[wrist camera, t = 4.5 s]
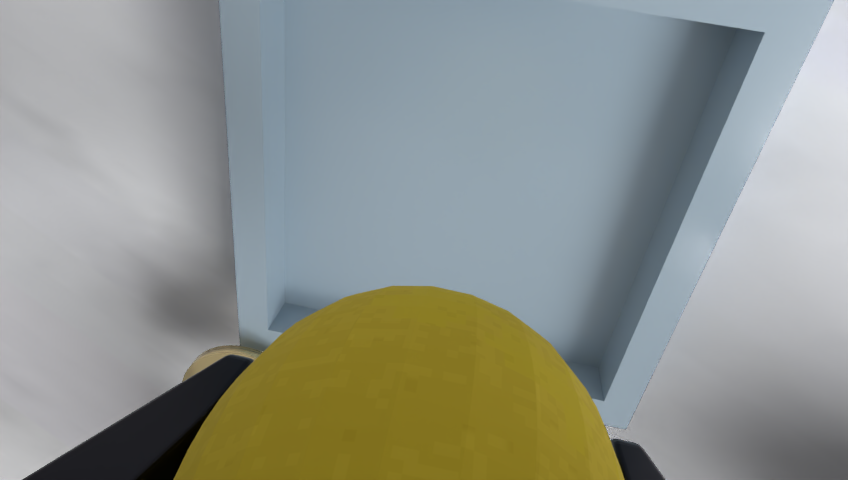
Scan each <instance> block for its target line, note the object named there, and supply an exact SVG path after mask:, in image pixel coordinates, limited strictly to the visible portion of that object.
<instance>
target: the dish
mask: <svg viewBox="0 0 848 480" xmlns="http://www.w3.org/2000/svg"><path fill="white" fill-rule="evenodd" d="M833 1H834V0H219V10H220V27H221V43H222V59H223V76H224V92H225V108H226V125H227V141H228V158H229V174H230V190H231V207H232V223H233V239H234V256H235V272H236V289H237V305H238V321H239V338H240V346H243V347H249V348H252V349H256V350H259V351H263V352H264V351H265V350H266V349H267V348H268V347H269V346H270V345H271V344H272V343H273V342H274V341H275V340H276V339H277V338H278V337H279V336H280V335H281V334H282V333H284V332H285V331H286V330H287V329H289V328H290V327H291V326H292V325H294V324H295V323H296V322H298V321H300V320H302V319H304V318H305V317H307V316H309V315H311V314H312V313H314V312H316V311H318V310H320V309H322V308H324V307H326V306H328V305H330V304H332V303H334V302H336V301H338V300H340V299H342V298H344V297H347V296H351V295H354V294H358V293H362V292H367V291H371V290H376V289H380V288H385V287H389V286H435V287H439V288H444V289H448V290H453V291H457V292H462V293H466V294H471V295H474V296H476V297H478V298H480V299H483V300H485V301H487V302H489V303H492V304H494V305H496V306H498V307H501V308H503V309H505V310H507V311H509V312H511V313H512V314H513V315H514V316H516V317H517V318H518V319H520V320H521V321H522V322H524V323H525V324H526V325H528V326H529V327H530V328H532V329H533V330H534V331H536V332H537V333H538V334H540V335H541V336H542V337H543V338H545V339H546V340H547V341H548V342H550V343H551V345H552V346H553V347H554V348H555V350H556V351H557V352H558V354H559V355H560V356H561V357H562V359H563V360H564V361H565V362H566V364H567V365H568V366H569V368H570V369H571V370H572V371H573V373H574V374H575V375H576V376H577V378H578V379H579V380H580V382H581V383H582V384H583V385H584V387H585V388H586V389H587V391H588V393H589V395H590V396H591V398H592V400H593V402H594V403H595V405H596V407H597V409H598V411H599V414H600V416H601V418H602V421H603V423H604V425H607V426H612V427H617V428H621V429H626V428H627V426H628V424H629V422H630V420H631V418H632V416H633V414H634V412H635V410H636V408H637V406H638V404H639V402H640V400H641V398H642V395H643V393H644V391H645V389H646V387H647V385H648V383H649V381H650V379H651V377H652V375H653V373H654V371H655V369H656V367H657V365H658V362H659V360H660V358H661V356H662V354H663V352H664V350H665V348H666V346H667V344H668V342H669V340H670V338H671V336H672V334H673V332H674V329H675V327H676V325H677V323H678V321H679V319H680V317H681V315H682V313H683V311H684V309H685V307H686V305H687V303H688V301H689V298H690V296H691V294H692V292H693V290H694V288H695V286H696V284H697V282H698V280H699V278H700V276H701V274H702V272H703V270H704V268H705V265H706V263H707V261H708V259H709V257H710V255H711V253H712V251H713V249H714V247H715V245H716V243H717V241H718V239H719V237H720V235H721V232H722V230H723V228H724V226H725V224H726V222H727V220H728V218H729V216H730V214H731V212H732V210H733V208H734V206H735V204H736V202H737V199H738V197H739V195H740V193H741V191H742V189H743V187H744V185H745V183H746V181H747V179H748V177H749V175H750V173H751V171H752V169H753V166H754V164H755V162H756V160H757V158H758V156H759V154H760V152H761V150H762V148H763V146H764V144H765V142H766V140H767V138H768V136H769V133H770V131H771V129H772V127H773V125H774V123H775V121H776V119H777V117H778V115H779V113H780V111H781V109H782V107H783V105H784V102H785V100H786V98H787V96H788V94H789V92H790V90H791V88H792V86H793V84H794V82H795V80H796V78H797V76H798V74H799V72H800V69H801V67H802V65H803V63H804V61H805V59H806V57H807V55H808V53H809V51H810V49H811V47H812V45H813V43H814V41H815V39H816V36H817V34H818V32H819V30H820V28H821V26H822V24H823V22H824V20H825V18H826V16H827V14H828V12H829V10H830V8H831V6H832V3H833Z"/></svg>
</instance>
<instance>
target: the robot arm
mask: <svg viewBox="0 0 848 480" xmlns="http://www.w3.org/2000/svg"><path fill="white" fill-rule="evenodd" d="M253 361H254V360H253V359H251V358H247V357H243V356H238V355H234V354H230V355H227V356H224V357H223V358H221V359H219V360H218V361H216V362H214V363H213V364H211V365H210V366H208V367H206V368H205V369H203V370H201V371H200V372H198V373H196V374H195V375H193V376H191V377H190V378H188V379H187V380H185V381H183V382H182V383H180V384H178V385H177V386H175V387H173V388H172V389H170V390H168V391H167V392H165V393H164V394H162V395H160V396H159V397H157V398H155V399H154V400H152V401H150V402H149V403H147V404H146V405H144V406H142V407H141V408H139V409H137V410H136V411H134V412H132V413H131V414H129V415H127V416H126V417H124V418H123V419H121V420H119V421H118V422H116V423H114V424H113V425H111V426H109V427H108V428H106V429H104V430H103V431H101V432H100V433H98V434H96V435H95V436H93V437H91V438H90V439H88V440H86V441H85V442H83V443H81V444H80V445H78V446H77V447H75V448H73V449H72V450H70V451H68V452H67V453H65V454H63V455H62V456H60V457H58V458H57V459H55V460H54V461H52V462H50V463H49V464H47V465H45V466H44V467H42V468H40V469H39V470H37V471H36V472H34V473H32V474H31V475H29V476H27V477H26V478H24V479H22V480H173V479H174V477H175V475H176V473H177V471H178V469H179V467H180V465H181V463H182V461H183V459H184V457H185V455H186V453H187V450H188V449H189V447H190V445H191V443H192V442H193V440H194V438H195V436H196V435H197V433H198V431H199V429H200V428H201V426H202V424H203V423H204V421H205V420H206V418H207V417H208V415H209V414H210V412H211V411H212V409H213V408H214V407H215V405H216V404H217V402H218V401H219V399H220V398H221V397H222V396H223V394H224V393H225V392H226V391H227V390H228V388H229V387H230V386H231V385H232V383H233V382H234V381H235V380H236V379H237V378H238V377H239V376H240V375H241V374H242V373H243V372H244V371H245V369H246V368H247V367H248V366H249V365H250V364H251V363H252V362H253ZM610 441H611V443H612V446H613V449H614V451H615V454H616V457H617V459H618V462H619V465H620V467H621V470H622V473H623V476H624V479H625V480H665V478H664V477H663V475H662V474H661V473H660V471H659V470H658V468H657V467H656V466H655V464H654V463H653V462H652V460H651V459H650V457H649V456H648V455H647V453H646V452H645V451H644V449H643V448H642V447H641V446H640V445H638V444H636V443H633V442H628V441H624V440H619V439H612V440H610Z"/></svg>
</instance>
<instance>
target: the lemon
mask: <svg viewBox="0 0 848 480" xmlns="http://www.w3.org/2000/svg"><path fill="white" fill-rule="evenodd" d="M173 480H625V479H624V476H623V473H622V470H621V467H620V465H619V462H618V459H617V457H616V454H615V451H614V449H613V446H612V443H611V441H610V438H609V435H608V433H607V430H606V428H605V425H604V423H603V421H602V418H601V416H600V414H599V411H598V409H597V407H596V405H595V403H594V402H593V400H592V398H591V396H590V395H589V393H588V391H587V389H586V388H585V387H584V385H583V384H582V383H581V382H580V380H579V379H578V378H577V376H576V375H575V374H574V373H573V371H572V370H571V369H570V368H569V366H568V365H567V364H566V362H565V361H564V360H563V359H562V357H561V356H560V355H559V354H558V352H557V351H556V350H555V348H554V347H553V346H552V345H551V343H550V342H548V341H547V340H546V339H545V338H543V337H542V336H541V335H540V334H538V333H537V332H536V331H534V330H533V329H532V328H530V327H529V326H528V325H526V324H525V323H524V322H522V321H521V320H520V319H518V318H517V317H516V316H514V315H513V314H512V313H511V312H509V311H507V310H505V309H503V308H501V307H498V306H496V305H494V304H492V303H489V302H487V301H485V300H483V299H480V298H478V297H476V296H474V295H471V294H466V293H462V292H457V291H453V290H448V289H444V288H439V287H435V286H389V287H385V288H380V289H376V290H371V291H367V292H362V293H358V294H354V295H351V296H347V297H344V298H342V299H340V300H338V301H336V302H334V303H332V304H330V305H328V306H326V307H324V308H322V309H320V310H318V311H316V312H314V313H312V314H311V315H309V316H307V317H305V318H304V319H302V320H300V321H298V322H296V323H295V324H294V325H292V326H291V327H290V328H289V329H287V330H286V331H285V332H284V333H282V334H281V335H280V336H279V337H278V338H277V339H276V340H275V341H274V342H273V343H272V344H271V345H270V346H269V347H268V348H267V349H266V350H265V351H264V352H263V353H262V354H261V355H260V356H259V357H257V358H256V359H255V360H254V361H253V362H252V363H251V364H250V365H249V366H248V367H247V368H246V369H245V371H244V372H243V373H242V374H241V375H240V376H239V377H238V378H237V379H236V380H235V381H234V382H233V383H232V385H231V386H230V387H229V388H228V390H227V391H226V392H225V393H224V394H223V396H222V397H221V398H220V399H219V401H218V402H217V404H216V405H215V407H214V408H213V409H212V411H211V412H210V414H209V415H208V417H207V418H206V420H205V421H204V423H203V424H202V426H201V428H200V429H199V431H198V433H197V435H196V436H195V438H194V440H193V442H192V443H191V445H190V447H189V449H188V450H187V453H186V455H185V457H184V459H183V461H182V463H181V465H180V467H179V469H178V471H177V473H176V475H175V477H174V479H173Z"/></svg>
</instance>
